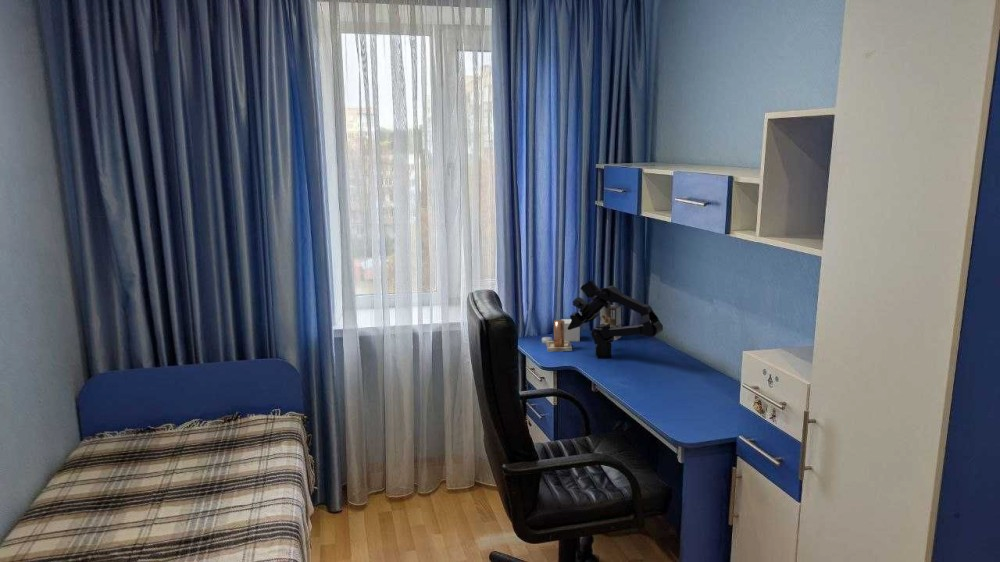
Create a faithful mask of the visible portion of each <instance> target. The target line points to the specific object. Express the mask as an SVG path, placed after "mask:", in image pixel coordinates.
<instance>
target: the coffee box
mask: <svg viewBox="0 0 1000 562" xmlns="http://www.w3.org/2000/svg"><path fill="white" fill-rule="evenodd" d="M622 306H623V305H616V304H611V307H610V308H606V307H605V306H604V307H603V308H602V309H601V310H600V312H599V325H601V324H609V323H610V326H611V327H622ZM621 338H622V336H615V337H614V340H613V341H618V340H619V339H621Z"/></svg>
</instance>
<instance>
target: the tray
mask: <svg viewBox="0 0 1000 562" xmlns="http://www.w3.org/2000/svg"><path fill="white" fill-rule="evenodd" d="M545 345H546V348H547V352H549V353H550V352H552V353H553V352H555V353H556V352H557V353H559V352H560V353H561V352H563V351H572V352H573V347H572V344H571V341H564V347H554V340H552V341H546V344H545Z"/></svg>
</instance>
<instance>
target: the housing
mask: <svg viewBox="0 0 1000 562" xmlns="http://www.w3.org/2000/svg"><path fill="white" fill-rule="evenodd" d="M561 320H563V321H564V341H570V342H581V341H580V338H581V337H580V336H581V335H580V330H581V326H580V327H577V328H574V329H571V330H568V326H569V325H570V323H571V321H572V320H571V318H568V319H565V318H561Z"/></svg>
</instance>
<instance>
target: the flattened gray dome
mask: <svg viewBox="0 0 1000 562" xmlns="http://www.w3.org/2000/svg"><path fill="white" fill-rule="evenodd" d="M546 341H553V337H550V336H543V337H541V344H542V345H546Z"/></svg>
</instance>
